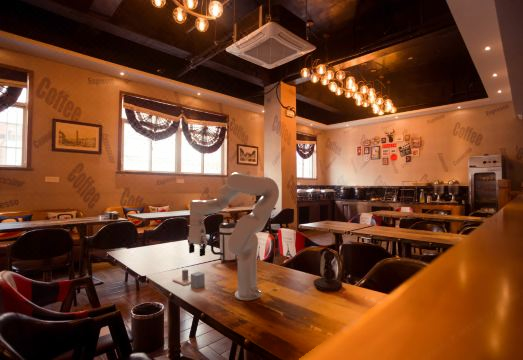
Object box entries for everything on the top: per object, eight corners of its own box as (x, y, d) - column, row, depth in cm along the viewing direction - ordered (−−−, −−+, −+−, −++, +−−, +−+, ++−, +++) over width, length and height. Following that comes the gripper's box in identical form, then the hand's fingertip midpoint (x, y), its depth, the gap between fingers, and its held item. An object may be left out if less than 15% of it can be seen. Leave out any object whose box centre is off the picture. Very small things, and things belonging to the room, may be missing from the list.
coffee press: (225, 256, 213) (225, 216, 213) (243, 259, 205) (242, 218, 205) (210, 262, 198) (209, 219, 198) (228, 265, 190) (227, 221, 190)
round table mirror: (310, 282, 155) (310, 246, 155) (336, 281, 156) (336, 245, 156) (317, 293, 141) (317, 253, 141) (346, 292, 142) (345, 252, 142)
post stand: (198, 281, 160) (197, 270, 160) (184, 285, 153) (184, 274, 154) (186, 276, 168) (186, 266, 168) (172, 280, 161) (172, 270, 161)
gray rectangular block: (204, 285, 153) (204, 273, 153) (196, 288, 149) (196, 276, 149) (198, 283, 156) (198, 271, 157) (190, 286, 153) (190, 274, 153)
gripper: (212, 223, 150) (212, 255, 150) (193, 220, 162) (193, 250, 162) (200, 225, 145) (200, 258, 145) (182, 222, 156) (182, 252, 156)
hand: (197, 254), depth 153 cm, fingers open, 9 cm apart
